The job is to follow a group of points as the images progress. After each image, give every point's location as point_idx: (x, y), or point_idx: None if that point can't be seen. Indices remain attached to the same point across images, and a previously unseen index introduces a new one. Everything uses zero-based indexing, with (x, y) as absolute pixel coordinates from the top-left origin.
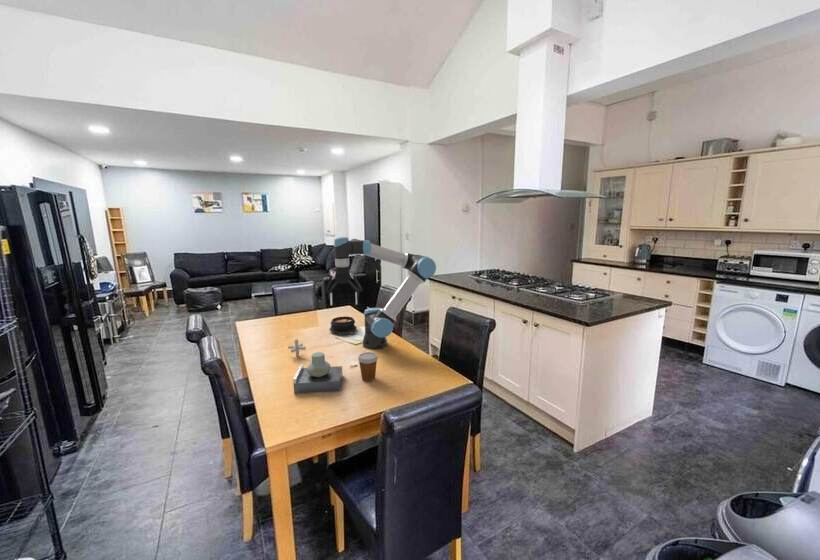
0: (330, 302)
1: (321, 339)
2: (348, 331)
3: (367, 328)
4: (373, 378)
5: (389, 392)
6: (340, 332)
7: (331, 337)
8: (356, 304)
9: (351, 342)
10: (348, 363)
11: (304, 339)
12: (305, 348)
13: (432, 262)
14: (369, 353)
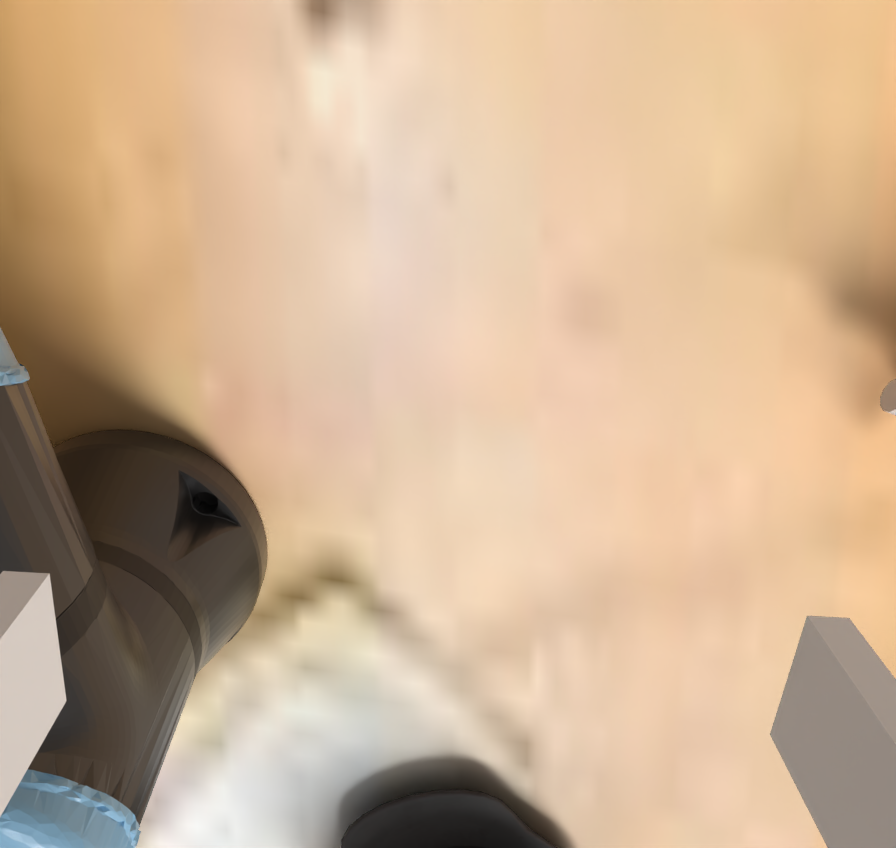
0: (894, 686)
1: (666, 739)
2: (413, 835)
3: (142, 614)
4: None
5: None
6: (490, 823)
7: (573, 768)
8: (21, 574)
9: (383, 631)
10: (405, 86)
11: None
12: (884, 401)
13: None
14: None
